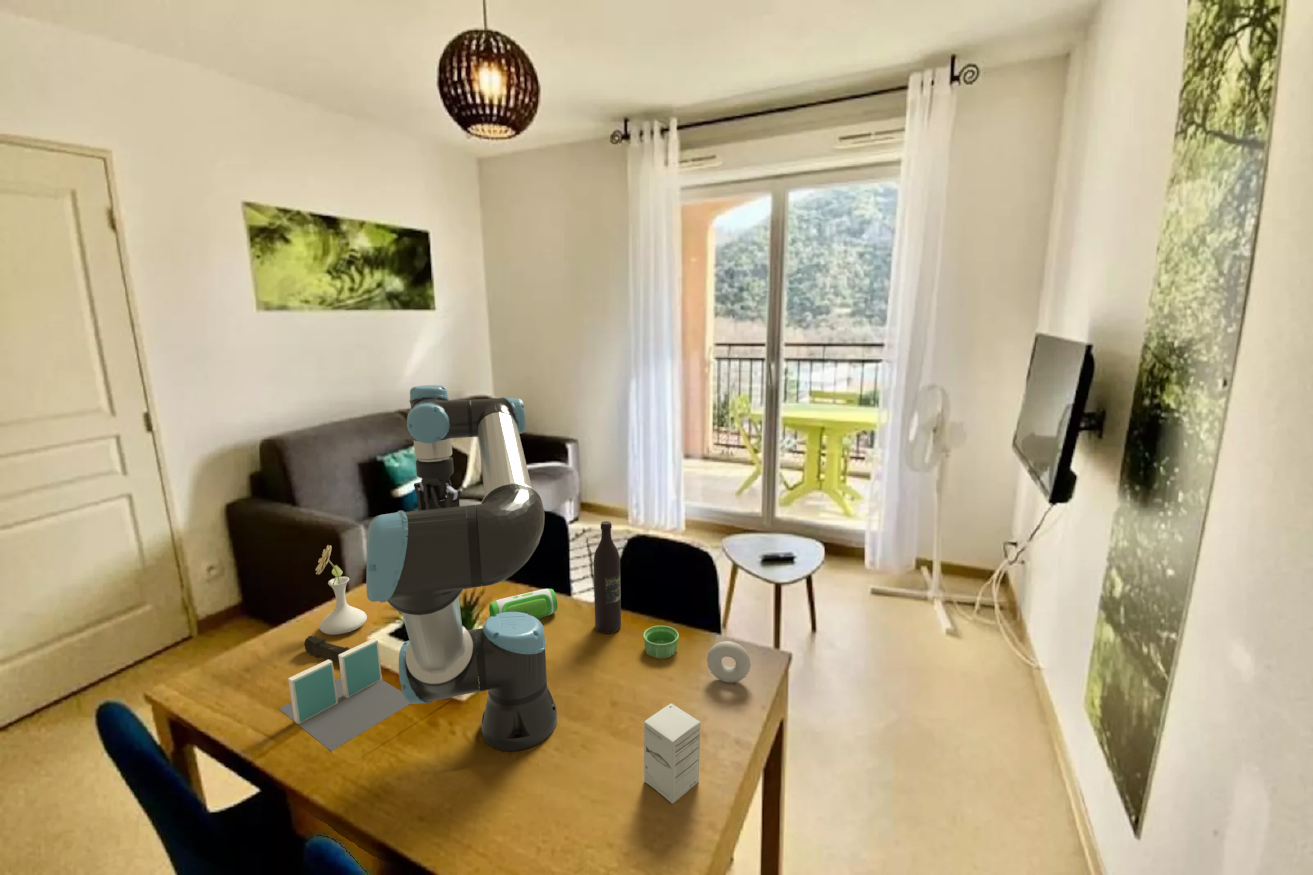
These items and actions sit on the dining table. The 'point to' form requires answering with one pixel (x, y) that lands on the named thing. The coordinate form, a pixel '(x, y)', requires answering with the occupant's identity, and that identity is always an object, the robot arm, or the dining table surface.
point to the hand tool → (323, 648)
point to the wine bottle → (607, 583)
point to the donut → (734, 652)
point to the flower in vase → (339, 603)
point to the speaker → (527, 604)
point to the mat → (352, 713)
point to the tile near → (313, 691)
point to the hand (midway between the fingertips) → (442, 559)
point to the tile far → (360, 667)
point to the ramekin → (660, 641)
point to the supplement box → (671, 752)
